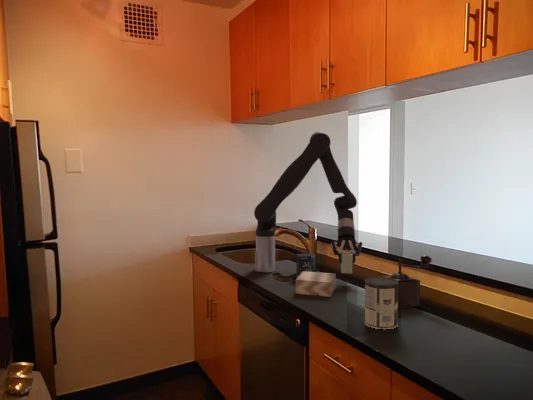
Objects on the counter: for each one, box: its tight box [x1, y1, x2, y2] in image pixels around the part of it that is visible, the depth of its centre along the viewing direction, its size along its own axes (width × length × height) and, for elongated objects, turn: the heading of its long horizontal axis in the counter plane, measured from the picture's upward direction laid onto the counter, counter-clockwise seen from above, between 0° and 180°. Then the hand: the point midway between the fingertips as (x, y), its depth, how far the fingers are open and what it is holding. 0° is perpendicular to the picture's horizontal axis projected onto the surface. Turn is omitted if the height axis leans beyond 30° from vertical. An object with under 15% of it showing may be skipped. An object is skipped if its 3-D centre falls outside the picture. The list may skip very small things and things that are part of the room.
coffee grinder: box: [381, 254, 433, 310], centre depth 153 cm, size 16×11×18 cm
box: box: [295, 253, 317, 278], centre depth 189 cm, size 8×6×11 cm
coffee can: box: [364, 276, 399, 331], centre depth 132 cm, size 10×10×14 cm
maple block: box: [295, 271, 337, 298], centre depth 170 cm, size 14×14×6 cm
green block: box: [340, 251, 353, 274], centre depth 179 cm, size 4×4×8 cm
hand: (347, 262), depth 177 cm, fingers closed on green block, 4 cm apart
